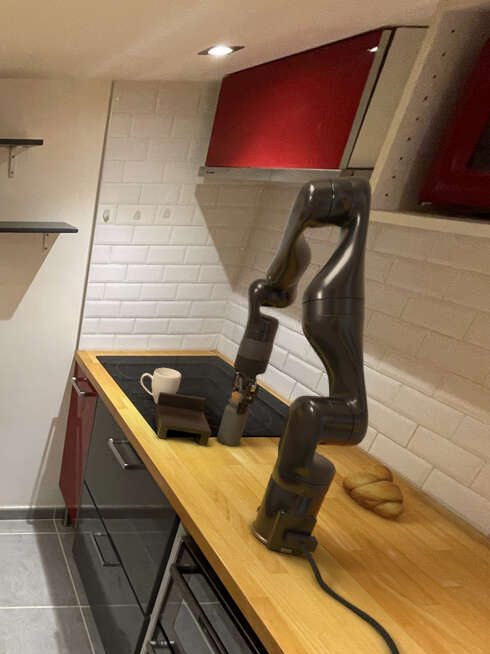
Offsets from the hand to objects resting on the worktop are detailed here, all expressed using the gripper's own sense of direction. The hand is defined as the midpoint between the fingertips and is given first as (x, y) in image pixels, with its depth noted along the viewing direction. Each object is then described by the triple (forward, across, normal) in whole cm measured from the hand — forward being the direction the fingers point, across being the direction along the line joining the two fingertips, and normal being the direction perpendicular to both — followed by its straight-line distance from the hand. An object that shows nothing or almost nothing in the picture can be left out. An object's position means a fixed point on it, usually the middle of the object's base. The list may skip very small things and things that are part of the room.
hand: (237, 408), depth 126 cm
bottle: (+11, 0, 0) cm, 11 cm away
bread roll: (+11, +20, +26) cm, 34 cm away
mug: (+11, -20, -18) cm, 29 cm away
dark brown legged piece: (+11, -1, -13) cm, 17 cm away
